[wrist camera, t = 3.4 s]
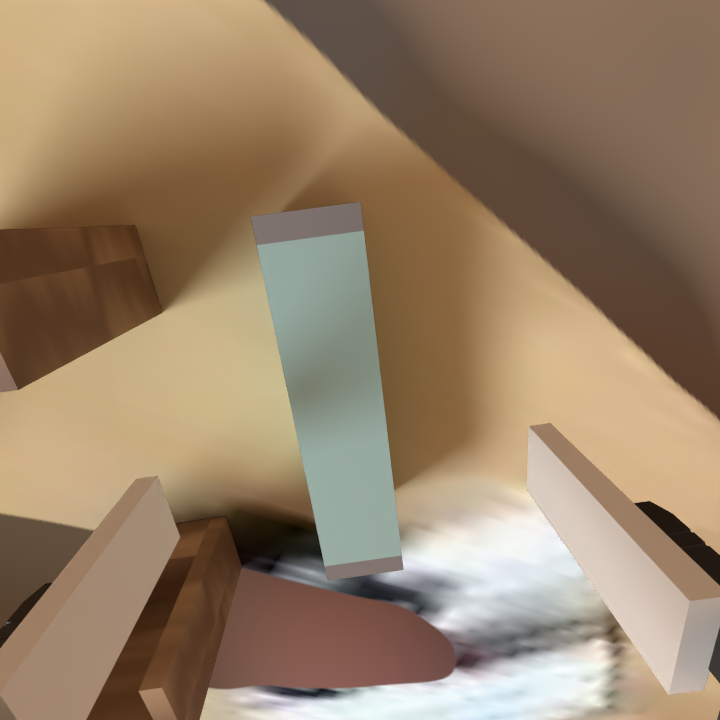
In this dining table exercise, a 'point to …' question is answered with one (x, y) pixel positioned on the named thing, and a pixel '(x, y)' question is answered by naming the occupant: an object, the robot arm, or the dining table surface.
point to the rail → (333, 380)
